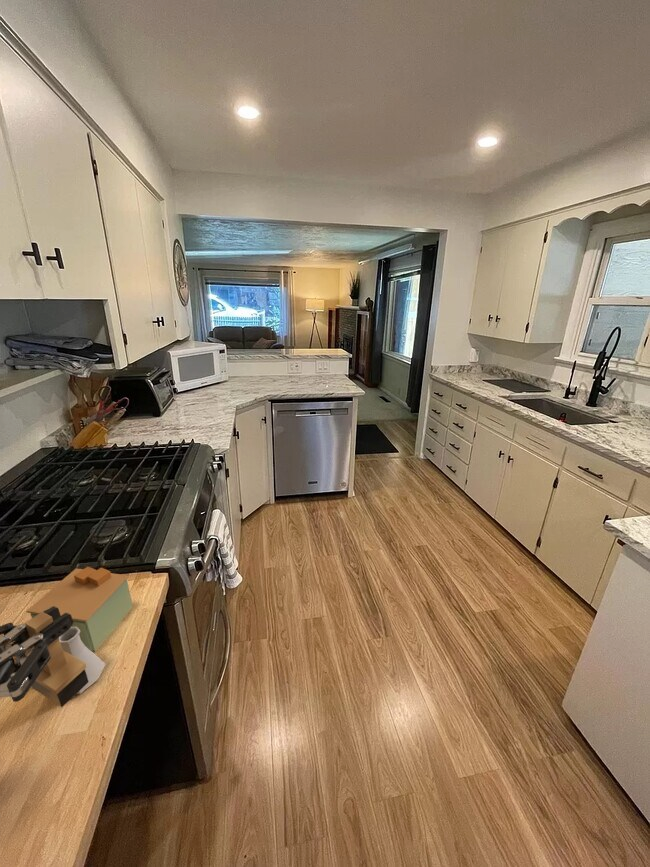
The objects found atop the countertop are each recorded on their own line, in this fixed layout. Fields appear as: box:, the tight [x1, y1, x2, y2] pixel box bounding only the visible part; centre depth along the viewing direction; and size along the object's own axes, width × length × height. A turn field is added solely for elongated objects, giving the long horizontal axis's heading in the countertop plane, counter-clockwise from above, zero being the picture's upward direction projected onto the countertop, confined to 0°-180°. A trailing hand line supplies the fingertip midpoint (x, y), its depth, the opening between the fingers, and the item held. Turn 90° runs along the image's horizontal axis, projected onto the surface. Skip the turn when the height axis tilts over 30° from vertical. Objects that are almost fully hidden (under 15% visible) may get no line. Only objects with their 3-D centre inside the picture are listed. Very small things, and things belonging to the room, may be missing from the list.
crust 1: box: [74, 566, 98, 585], centre depth 74 cm, size 3×3×2 cm
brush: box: [24, 612, 89, 708], centre depth 51 cm, size 4×7×13 cm, turn 67°
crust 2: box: [88, 567, 112, 586], centre depth 74 cm, size 3×3×2 cm
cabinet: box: [25, 567, 134, 653], centre depth 72 cm, size 13×12×8 cm
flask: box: [59, 627, 106, 695], centre depth 62 cm, size 7×7×10 cm
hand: (63, 614), depth 52 cm, fingers closed on brush, 2 cm apart
